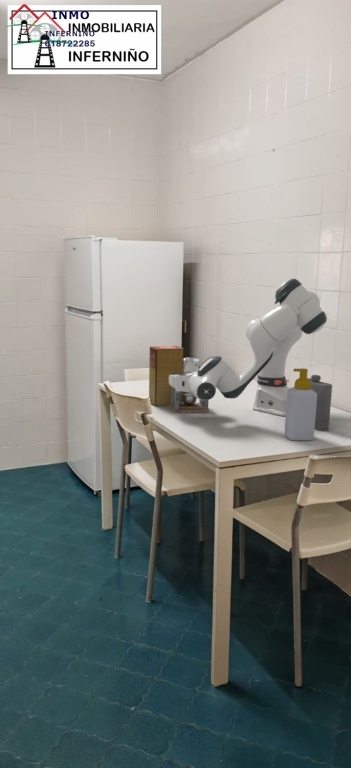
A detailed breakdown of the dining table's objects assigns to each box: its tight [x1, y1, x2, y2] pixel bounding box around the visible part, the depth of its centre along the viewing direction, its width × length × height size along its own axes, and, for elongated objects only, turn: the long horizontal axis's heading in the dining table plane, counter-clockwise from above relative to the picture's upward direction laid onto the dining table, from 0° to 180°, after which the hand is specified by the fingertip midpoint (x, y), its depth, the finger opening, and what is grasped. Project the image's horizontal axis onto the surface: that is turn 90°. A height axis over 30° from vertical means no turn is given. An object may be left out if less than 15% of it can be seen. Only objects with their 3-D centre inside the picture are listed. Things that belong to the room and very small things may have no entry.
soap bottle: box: [284, 368, 317, 442], centre depth 204 cm, size 9×9×25 cm
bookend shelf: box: [169, 387, 210, 413], centre depth 242 cm, size 10×14×8 cm
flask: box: [307, 374, 333, 432], centre depth 220 cm, size 15×6×20 cm, turn 25°
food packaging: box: [148, 345, 185, 407], centre depth 250 cm, size 13×9×25 cm
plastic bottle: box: [182, 356, 198, 404], centre depth 244 cm, size 6×7×20 cm
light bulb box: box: [183, 357, 201, 372], centre depth 310 cm, size 11×7×11 cm, turn 84°
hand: (189, 376), depth 241 cm, fingers open, 8 cm apart
